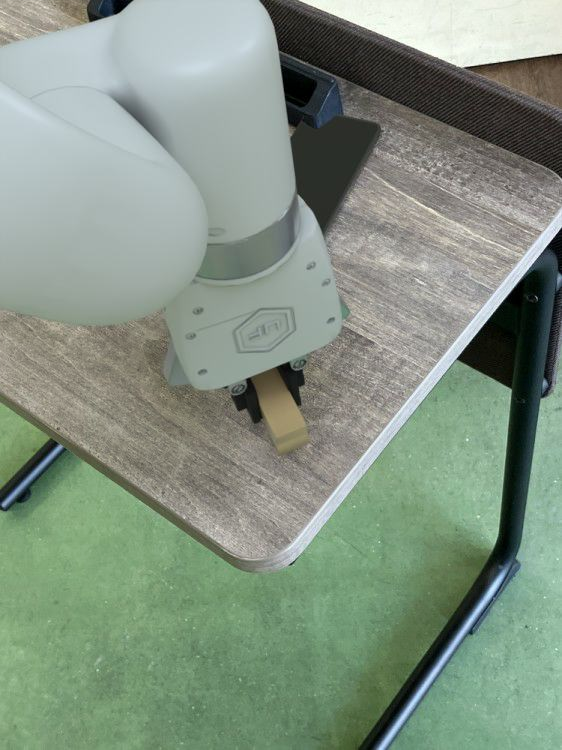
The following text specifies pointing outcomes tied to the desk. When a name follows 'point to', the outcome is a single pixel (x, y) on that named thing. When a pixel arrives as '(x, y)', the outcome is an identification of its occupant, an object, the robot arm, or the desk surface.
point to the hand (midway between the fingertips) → (269, 397)
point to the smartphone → (330, 162)
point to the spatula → (280, 412)
